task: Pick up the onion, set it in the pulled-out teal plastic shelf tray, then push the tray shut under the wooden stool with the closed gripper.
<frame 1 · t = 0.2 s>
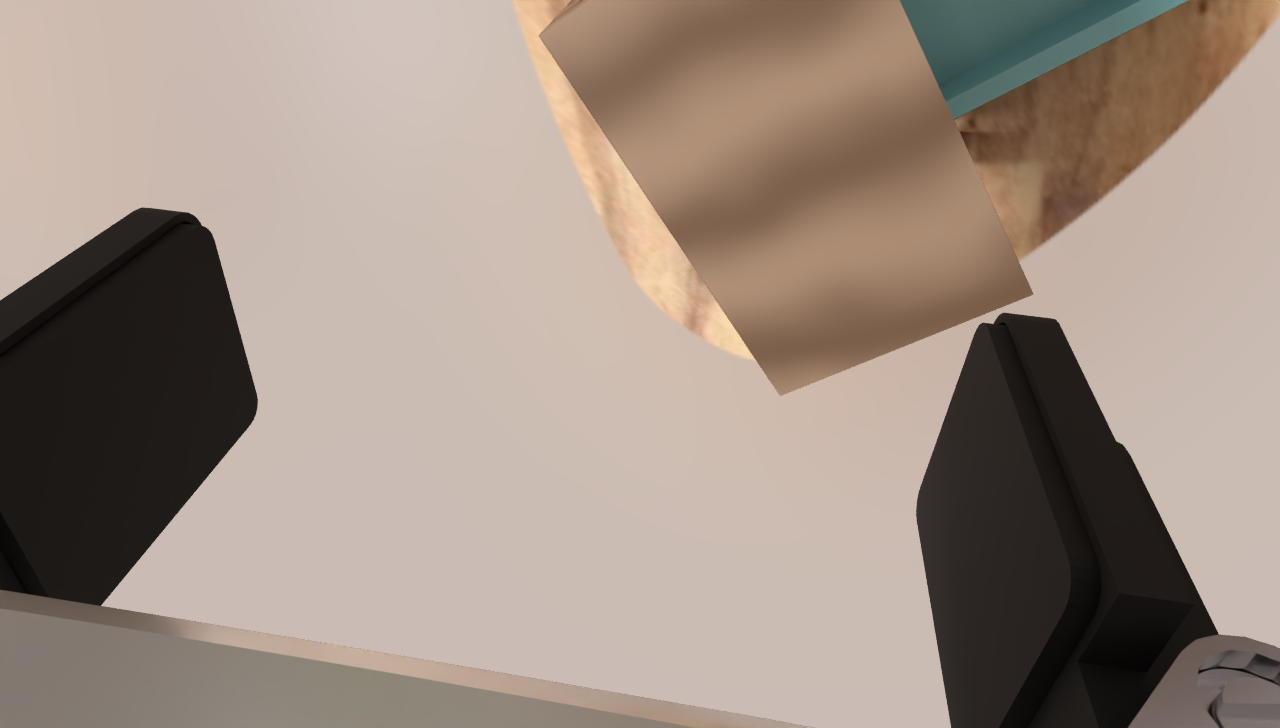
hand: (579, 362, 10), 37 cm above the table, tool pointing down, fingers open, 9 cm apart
wooden stool: (796, 57, 43), on the table
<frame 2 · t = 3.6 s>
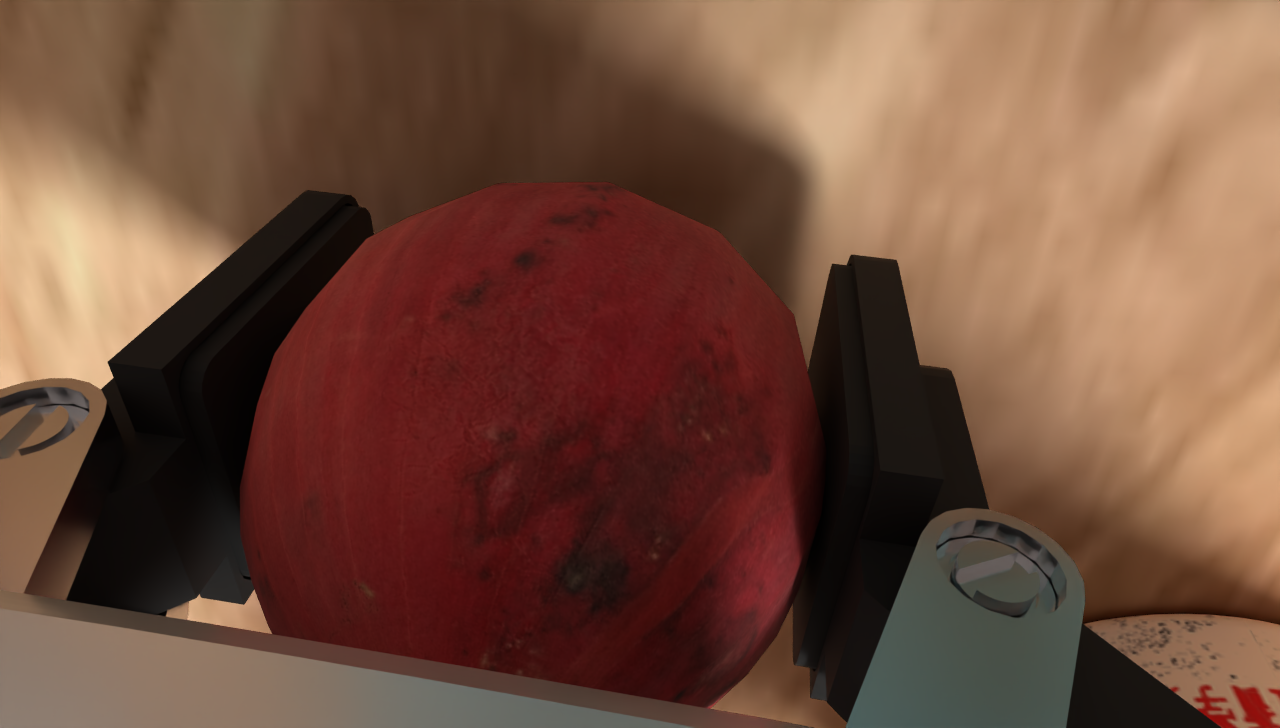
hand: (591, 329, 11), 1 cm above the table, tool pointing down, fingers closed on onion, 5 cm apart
onion: (611, 279, 12), on the table, touching gripper
when the fingers open (4 cm above the table, at t = 8.7 s): onion drops 1 cm, resting on shelf tray.
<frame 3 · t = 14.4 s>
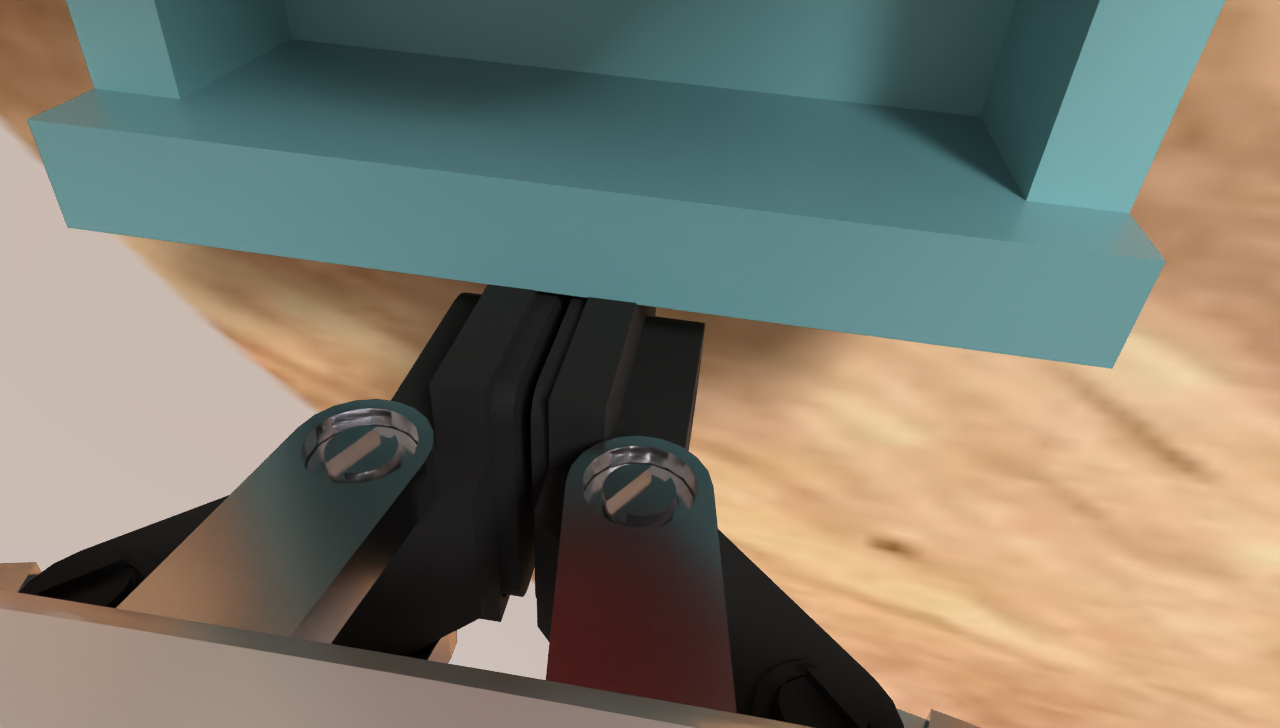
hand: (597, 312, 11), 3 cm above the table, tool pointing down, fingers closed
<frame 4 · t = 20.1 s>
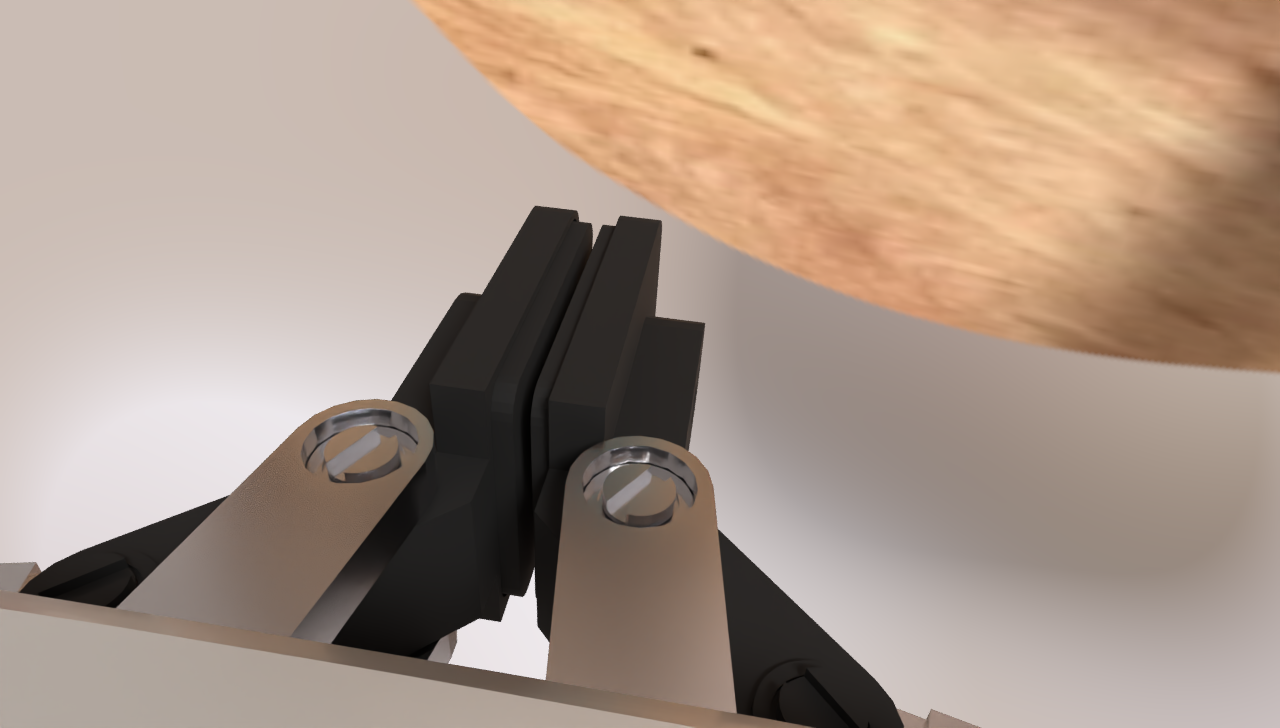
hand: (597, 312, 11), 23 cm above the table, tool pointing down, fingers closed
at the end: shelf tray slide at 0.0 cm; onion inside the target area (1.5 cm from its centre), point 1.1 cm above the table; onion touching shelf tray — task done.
